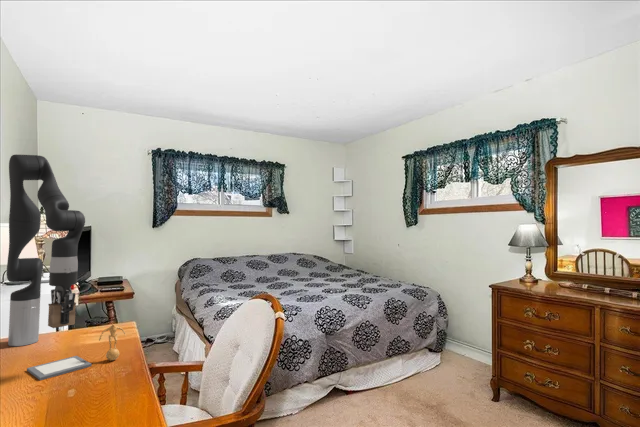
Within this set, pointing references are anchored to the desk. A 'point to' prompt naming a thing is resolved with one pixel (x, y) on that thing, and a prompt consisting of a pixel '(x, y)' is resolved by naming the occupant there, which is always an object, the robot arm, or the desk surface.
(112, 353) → the figurine
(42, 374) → the mat
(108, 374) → the desk surface
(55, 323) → the walnut box
